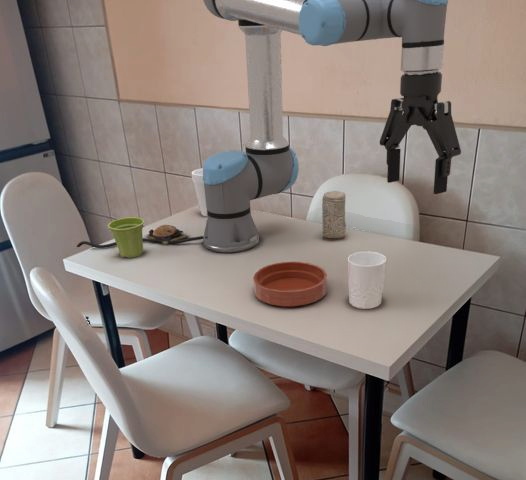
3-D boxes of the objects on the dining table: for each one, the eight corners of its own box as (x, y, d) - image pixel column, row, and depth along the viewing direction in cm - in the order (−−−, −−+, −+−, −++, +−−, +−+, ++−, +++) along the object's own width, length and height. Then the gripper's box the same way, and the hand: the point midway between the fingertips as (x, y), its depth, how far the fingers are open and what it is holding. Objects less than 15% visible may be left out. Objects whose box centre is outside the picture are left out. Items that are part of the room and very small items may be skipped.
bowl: (242, 301, 126) (240, 285, 124) (273, 273, 138) (272, 258, 136) (310, 313, 119) (310, 296, 117) (337, 283, 132) (337, 266, 130)
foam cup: (221, 218, 176) (217, 175, 169) (192, 217, 178) (187, 175, 171) (229, 208, 184) (225, 167, 177) (201, 208, 186) (197, 167, 179)
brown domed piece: (189, 238, 163) (188, 225, 161) (163, 246, 158) (162, 233, 156) (170, 229, 170) (168, 217, 168) (145, 236, 166) (143, 224, 164)
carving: (345, 232, 160) (346, 189, 154) (345, 241, 154) (346, 197, 147) (323, 232, 161) (323, 189, 155) (321, 241, 155) (321, 197, 148)
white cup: (390, 306, 120) (393, 262, 115) (355, 313, 119) (357, 268, 113) (373, 291, 127) (375, 249, 122) (340, 297, 125) (341, 254, 120)
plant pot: (119, 263, 149) (112, 231, 144) (110, 252, 156) (103, 221, 152) (153, 255, 152) (148, 224, 148) (143, 245, 160) (137, 214, 155)
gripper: (489, 70, 99) (476, 194, 109) (392, 69, 118) (389, 174, 128) (457, 75, 96) (447, 201, 106) (363, 73, 115) (362, 180, 125)
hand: (415, 186), depth 117 cm, fingers open, 13 cm apart
